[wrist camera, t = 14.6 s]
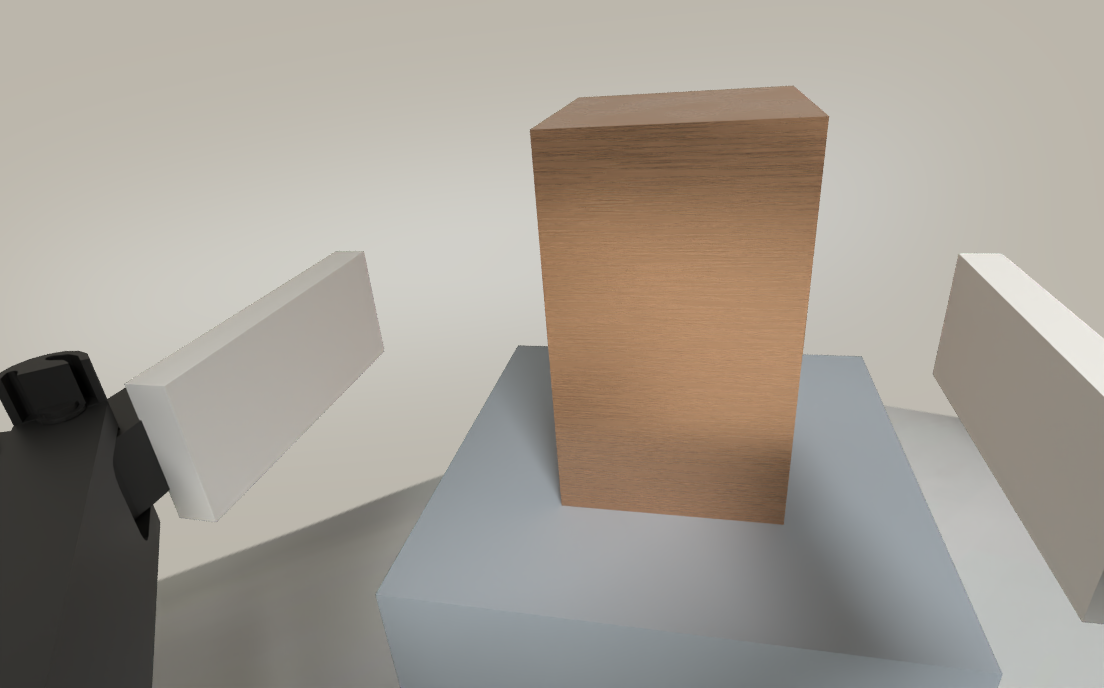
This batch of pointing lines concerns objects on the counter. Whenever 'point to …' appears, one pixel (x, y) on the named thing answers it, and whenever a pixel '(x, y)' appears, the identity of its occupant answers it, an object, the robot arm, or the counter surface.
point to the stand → (682, 566)
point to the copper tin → (678, 294)
